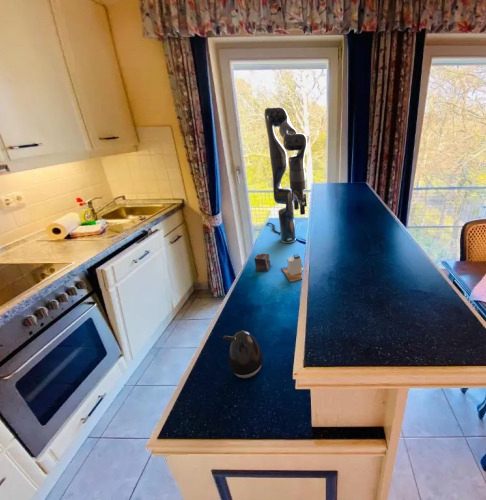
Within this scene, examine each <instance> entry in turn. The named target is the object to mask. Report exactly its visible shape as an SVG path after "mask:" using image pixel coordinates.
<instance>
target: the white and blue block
mask: <svg viewBox="0 0 486 500" xmlns="http://www.w3.org/2000/svg"><path fill="white" fill-rule="evenodd" d="M286 262H287V267H288V272H289V274H290V275H291V276H292V275H295V274H299V273H302V268H303V267H302V258H301V256H300V254H298V253H296V254H293V256H290V257H287V258H286Z"/></svg>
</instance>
